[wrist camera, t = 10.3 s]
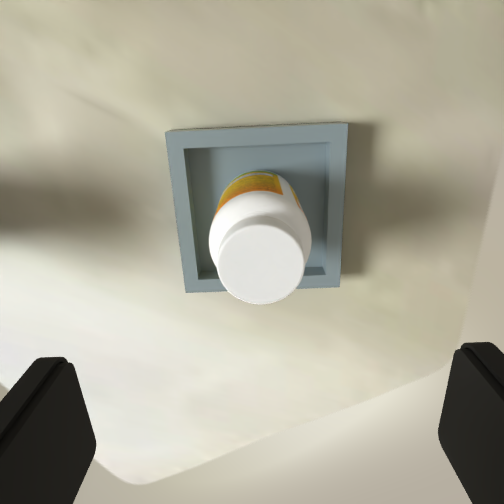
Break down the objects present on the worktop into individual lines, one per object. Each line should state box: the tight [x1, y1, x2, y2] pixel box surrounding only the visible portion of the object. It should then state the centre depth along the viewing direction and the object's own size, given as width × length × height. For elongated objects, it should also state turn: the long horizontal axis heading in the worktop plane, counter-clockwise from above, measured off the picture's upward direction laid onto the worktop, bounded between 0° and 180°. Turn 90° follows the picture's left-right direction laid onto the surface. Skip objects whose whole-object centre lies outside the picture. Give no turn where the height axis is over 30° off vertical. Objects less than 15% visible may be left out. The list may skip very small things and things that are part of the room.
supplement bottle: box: [209, 170, 312, 304], centre depth 21 cm, size 5×5×10 cm
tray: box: [165, 122, 348, 293], centre depth 25 cm, size 11×11×2 cm
